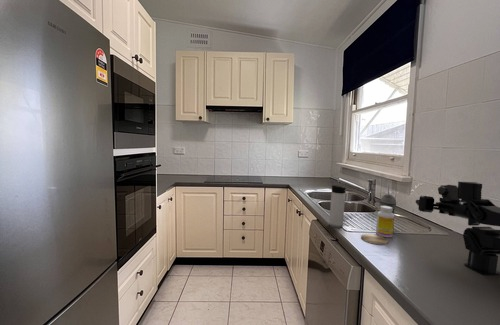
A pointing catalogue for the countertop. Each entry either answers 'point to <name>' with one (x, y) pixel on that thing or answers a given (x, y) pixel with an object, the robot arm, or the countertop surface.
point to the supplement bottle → (385, 222)
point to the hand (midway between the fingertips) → (426, 202)
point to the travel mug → (337, 206)
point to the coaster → (374, 239)
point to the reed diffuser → (388, 201)
